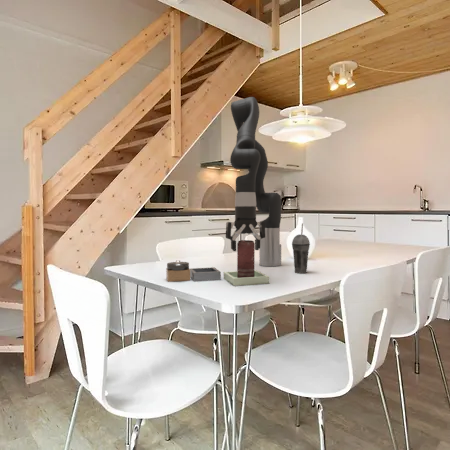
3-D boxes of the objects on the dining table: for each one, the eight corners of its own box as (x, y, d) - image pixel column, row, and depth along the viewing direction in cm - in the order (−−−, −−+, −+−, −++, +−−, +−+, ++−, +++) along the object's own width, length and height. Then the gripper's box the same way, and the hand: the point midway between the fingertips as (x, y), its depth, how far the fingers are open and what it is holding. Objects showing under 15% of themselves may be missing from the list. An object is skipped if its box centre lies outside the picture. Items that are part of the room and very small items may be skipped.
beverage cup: (288, 272, 146) (288, 223, 145) (297, 270, 151) (297, 222, 150) (303, 274, 141) (304, 224, 140) (313, 272, 146) (313, 223, 145)
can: (244, 276, 133) (244, 239, 132) (257, 279, 129) (257, 240, 128) (233, 279, 129) (233, 240, 128) (246, 282, 125) (246, 242, 124)
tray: (256, 276, 137) (256, 270, 137) (269, 283, 124) (269, 276, 124) (223, 278, 134) (223, 272, 133) (233, 286, 121) (233, 278, 121)
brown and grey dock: (214, 274, 141) (214, 257, 141) (220, 279, 132) (220, 260, 131) (165, 277, 136) (165, 259, 136) (168, 282, 127) (168, 263, 126)
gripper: (260, 205, 133) (260, 248, 134) (223, 205, 129) (223, 250, 130) (268, 205, 126) (268, 251, 127) (229, 205, 122) (229, 252, 123)
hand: (245, 250), depth 128 cm, fingers open, 8 cm apart
